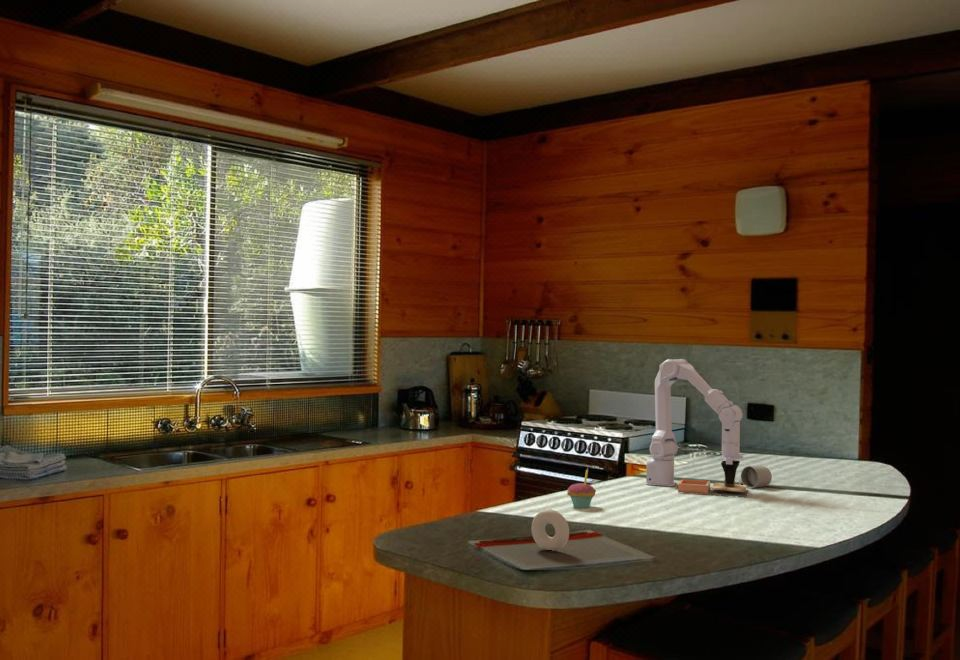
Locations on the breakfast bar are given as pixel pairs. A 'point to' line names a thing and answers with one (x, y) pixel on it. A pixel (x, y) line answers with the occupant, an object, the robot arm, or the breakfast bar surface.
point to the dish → (694, 486)
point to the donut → (559, 525)
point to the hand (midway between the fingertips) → (730, 483)
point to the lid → (729, 487)
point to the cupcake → (581, 493)
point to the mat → (730, 493)
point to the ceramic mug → (755, 476)
